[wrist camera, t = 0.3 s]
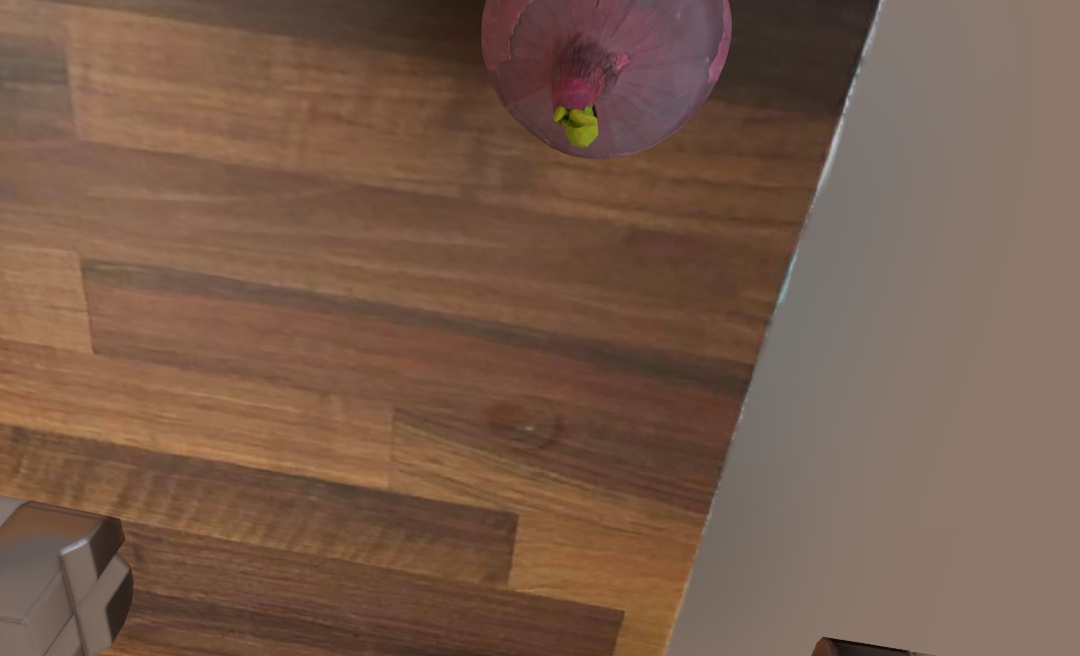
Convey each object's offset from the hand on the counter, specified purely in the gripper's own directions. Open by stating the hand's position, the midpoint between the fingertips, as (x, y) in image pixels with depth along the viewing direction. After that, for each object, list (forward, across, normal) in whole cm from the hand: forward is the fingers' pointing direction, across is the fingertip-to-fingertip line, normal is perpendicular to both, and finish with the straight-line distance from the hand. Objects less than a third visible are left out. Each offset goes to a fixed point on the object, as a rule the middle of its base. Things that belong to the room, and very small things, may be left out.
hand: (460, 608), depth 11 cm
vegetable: (+21, 0, -2) cm, 21 cm away
